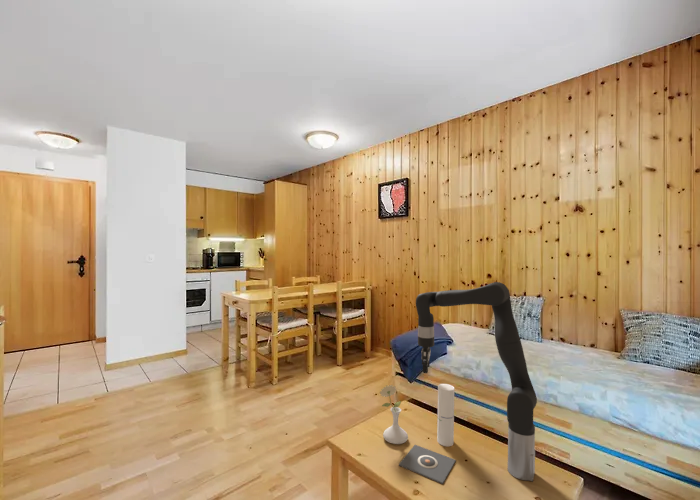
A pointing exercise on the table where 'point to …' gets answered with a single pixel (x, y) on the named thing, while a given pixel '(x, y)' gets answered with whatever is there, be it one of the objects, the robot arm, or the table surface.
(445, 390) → the cylindrical container
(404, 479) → the table surface
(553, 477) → the table surface
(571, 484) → the table surface
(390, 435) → the flower in vase
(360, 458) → the table surface
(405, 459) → the pad
